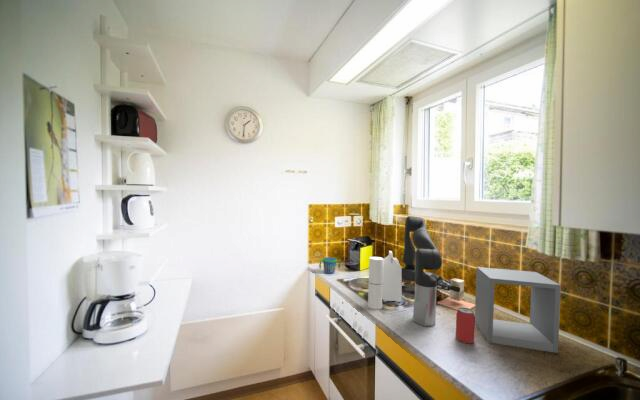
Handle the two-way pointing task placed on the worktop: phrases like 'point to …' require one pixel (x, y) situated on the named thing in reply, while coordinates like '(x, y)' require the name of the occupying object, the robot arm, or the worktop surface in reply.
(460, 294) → the maple block
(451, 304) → the terracotta mat
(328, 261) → the snack cup
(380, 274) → the cylindrical container
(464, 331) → the beer can
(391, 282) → the milk
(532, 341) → the box
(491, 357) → the worktop surface
